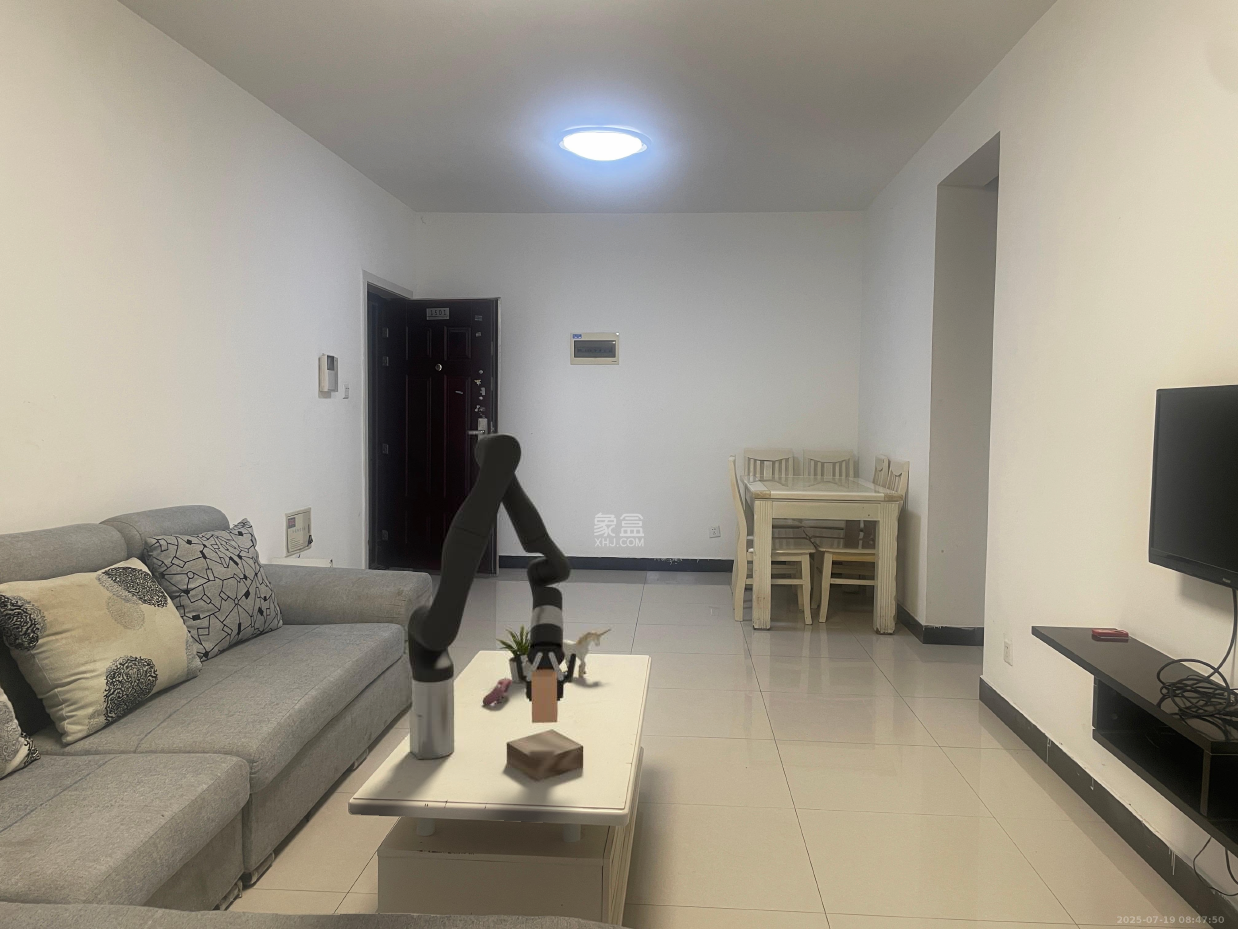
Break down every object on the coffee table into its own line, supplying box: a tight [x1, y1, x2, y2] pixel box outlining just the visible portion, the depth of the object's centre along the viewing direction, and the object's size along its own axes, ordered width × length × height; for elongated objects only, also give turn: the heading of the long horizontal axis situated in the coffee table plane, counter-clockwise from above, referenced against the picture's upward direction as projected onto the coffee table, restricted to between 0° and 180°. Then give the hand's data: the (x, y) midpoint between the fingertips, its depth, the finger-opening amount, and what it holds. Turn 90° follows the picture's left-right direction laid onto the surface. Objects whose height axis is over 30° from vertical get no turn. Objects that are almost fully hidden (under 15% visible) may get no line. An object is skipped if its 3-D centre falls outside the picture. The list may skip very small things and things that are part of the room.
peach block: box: [531, 669, 559, 724], centre depth 173 cm, size 5×5×10 cm
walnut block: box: [506, 728, 584, 782], centre depth 173 cm, size 12×12×5 cm
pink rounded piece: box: [482, 677, 514, 706], centre depth 214 cm, size 10×5×7 cm, turn 169°
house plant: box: [495, 623, 532, 684], centre depth 232 cm, size 14×14×16 cm
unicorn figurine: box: [560, 628, 612, 677], centre depth 238 cm, size 7×20×13 cm, turn 75°
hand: (544, 699), depth 171 cm, fingers closed on peach block, 5 cm apart
